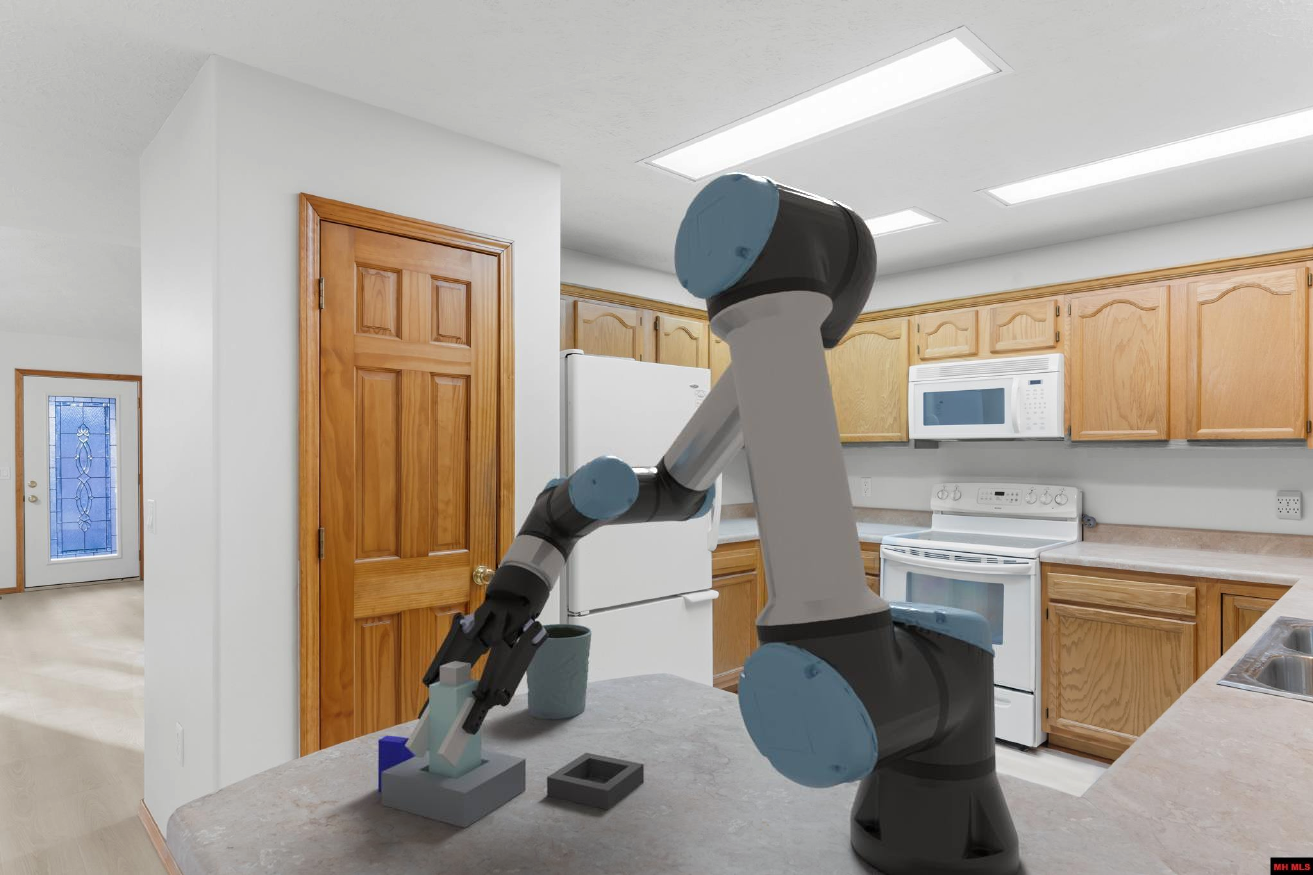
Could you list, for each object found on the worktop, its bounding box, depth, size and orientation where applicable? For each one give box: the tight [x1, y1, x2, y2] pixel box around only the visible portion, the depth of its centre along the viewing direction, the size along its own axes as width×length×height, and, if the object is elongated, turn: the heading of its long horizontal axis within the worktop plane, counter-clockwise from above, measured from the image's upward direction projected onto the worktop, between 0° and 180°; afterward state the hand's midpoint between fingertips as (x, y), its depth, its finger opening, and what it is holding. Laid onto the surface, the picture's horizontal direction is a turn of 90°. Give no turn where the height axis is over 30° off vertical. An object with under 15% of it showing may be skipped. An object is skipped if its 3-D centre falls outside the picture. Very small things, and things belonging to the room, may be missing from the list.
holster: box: [546, 752, 645, 811], centre depth 86 cm, size 8×8×2 cm
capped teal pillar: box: [428, 661, 482, 779], centre depth 84 cm, size 4×4×13 cm
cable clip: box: [377, 735, 429, 793], centre depth 91 cm, size 12×4×6 cm, turn 163°
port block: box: [380, 748, 527, 829], centre depth 84 cm, size 12×10×4 cm
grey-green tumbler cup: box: [525, 623, 593, 720], centre depth 114 cm, size 10×10×12 cm
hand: (430, 755), depth 80 cm, fingers closed on capped teal pillar, 4 cm apart
